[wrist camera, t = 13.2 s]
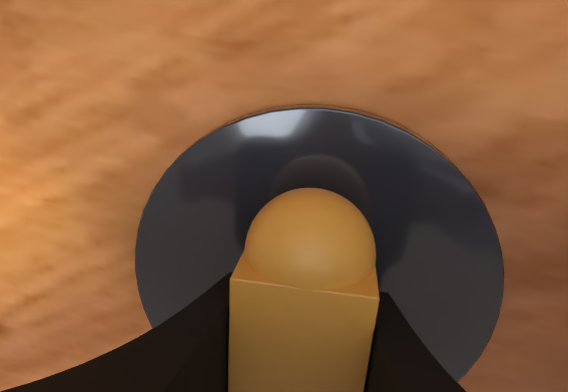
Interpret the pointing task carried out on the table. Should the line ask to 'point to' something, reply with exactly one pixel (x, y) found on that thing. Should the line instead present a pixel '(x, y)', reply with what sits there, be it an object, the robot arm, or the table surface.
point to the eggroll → (303, 297)
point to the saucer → (349, 184)
